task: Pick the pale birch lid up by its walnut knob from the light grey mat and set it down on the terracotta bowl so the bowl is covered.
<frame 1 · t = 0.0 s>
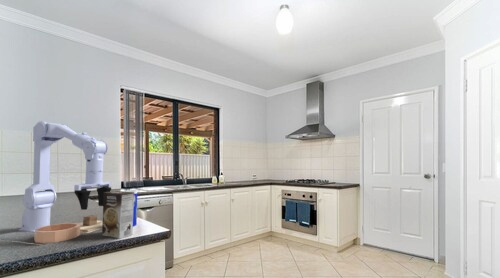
hand: (93, 207, 100), 10 cm above the counter, tool pointing down, fingers open, 7 cm apart
coffee box: (117, 236, 98), on the counter
mat: (89, 227, 110), on the counter
beverage can: (129, 227, 111), on the counter
bowl: (57, 238, 95), on the counter
lid: (89, 226, 110), resting on mat
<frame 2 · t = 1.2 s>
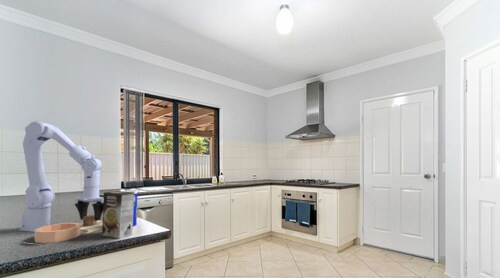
hand: (90, 219, 110), 3 cm above the counter, tool pointing down, fingers open, 7 cm apart
nothing on the counter moved.
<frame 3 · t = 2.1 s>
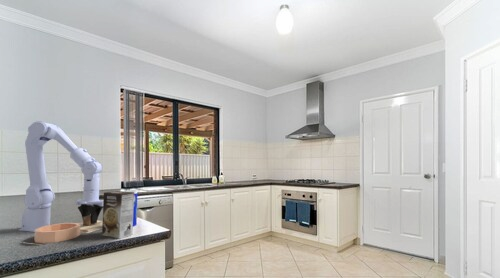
hand: (90, 222, 110), 2 cm above the counter, tool pointing down, fingers closed on lid, 3 cm apart
lid: (89, 226, 110), resting on mat, touching gripper
everything else where it was.
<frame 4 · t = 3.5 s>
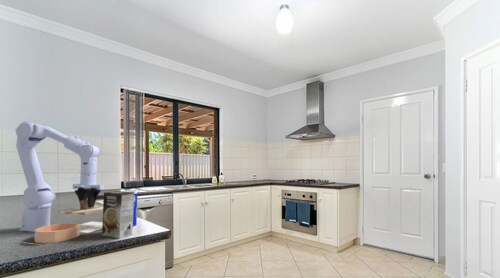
hand: (87, 206, 109), 9 cm above the counter, tool pointing down, fingers closed on lid, 3 cm apart
lid: (87, 210, 109), point 7 cm above the counter, touching gripper
everything else where it was.
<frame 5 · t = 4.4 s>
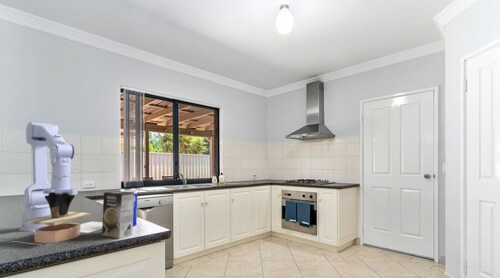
hand: (59, 214, 96), 9 cm above the counter, tool pointing down, fingers closed on lid, 3 cm apart
lid: (59, 219, 96), point 7 cm above the counter, touching gripper
everything else where it was.
when the fingers open (7 cm above the counter, at t = 5.0 s): lid drops 1 cm, resting on bowl.
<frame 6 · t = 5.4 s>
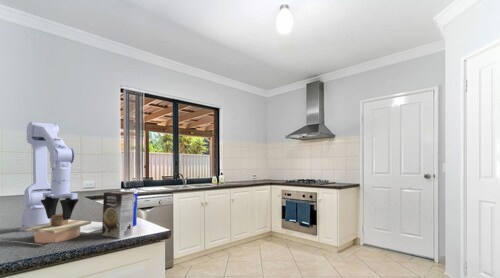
hand: (58, 218, 95), 7 cm above the counter, tool pointing down, fingers open, 7 cm apart
lid: (59, 226, 96), point 4 cm above the counter, touching bowl
everything else where it was.
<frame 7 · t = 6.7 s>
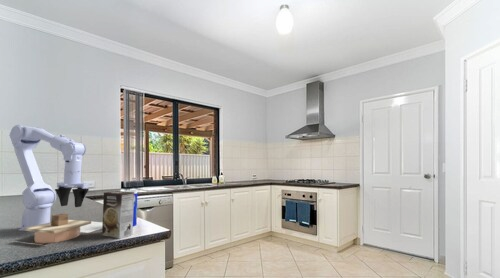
hand: (71, 206, 105), 10 cm above the counter, tool pointing down, fingers open, 7 cm apart
nothing on the counter moved.
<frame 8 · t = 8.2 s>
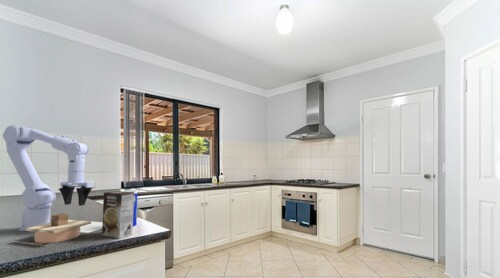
hand: (74, 204, 108), 10 cm above the counter, tool pointing down, fingers open, 7 cm apart
nothing on the counter moved.
at the end: lid 0.4 cm off-centre on the bowl, point 4.0 cm above the bowl's base; lid tilted 0°; the gripper is holding nothing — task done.
